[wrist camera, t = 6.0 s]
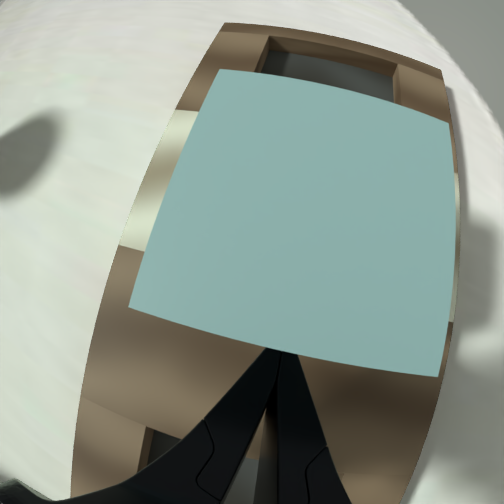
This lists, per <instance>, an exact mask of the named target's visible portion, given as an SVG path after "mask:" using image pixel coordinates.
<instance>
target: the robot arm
mask: <svg viewBox="0 0 504 504" xmlns="http://www.w3.org/2000/svg"><path fill="white" fill-rule="evenodd" d="M265 409H266V410H265ZM264 412H265V416H264V423H263V432H262V440H261V448H260V456H259V464H258V471H257V479H256V486H255V493H254V500H253V504H352V503H351V501H350V499H349V497H348V494H347V492H346V490H345V488H344V486H343V484H342V482H341V480H340V477H339V475H338V473H337V470H336V467H335V465H334V462H333V459H332V456H331V453H330V450H329V447H328V446H327V441H326V438H325V435H324V432H323V429H322V426H321V423H320V420H319V417H318V414H317V411H316V408H315V405H314V402H313V399H312V396H311V393H310V390H309V387H308V384H307V381H306V378H305V375H304V372H303V369H302V366H301V363H300V360H299V357H298V354H294V353H289V352H285V351H280V350H276V349H272V348H268V347H265V349H264V350H263V351H262V352H261V353H260V355H259V356H258V357H257V358H256V359H255V360H254V362H253V363H252V364H251V365H250V366H249V367H248V369H247V370H246V371H245V372H244V373H243V374H242V376H241V377H240V378H239V379H238V380H237V381H236V382H235V384H234V385H233V386H232V387H231V388H230V389H229V390H228V391H227V393H226V394H225V395H224V396H223V397H222V398H221V399H220V400H219V401H218V402H217V404H216V405H215V406H214V407H213V408H212V409H211V410H210V411H209V412H208V413H207V414H206V416H205V417H204V418H203V419H202V420H201V421H200V422H199V423H198V424H197V425H196V426H195V427H194V428H193V429H192V430H191V431H190V432H189V433H188V434H187V435H186V436H185V437H184V438H183V439H182V440H180V441H179V442H178V443H177V444H176V445H174V446H173V447H172V448H171V449H169V450H168V451H167V452H166V453H164V454H163V455H161V456H160V457H159V458H157V459H156V460H155V461H153V462H152V463H150V464H149V465H148V466H146V467H145V468H143V469H142V470H141V471H139V472H138V473H136V474H135V475H133V476H132V477H130V478H128V479H126V480H124V481H122V482H120V483H118V484H116V485H113V486H110V487H107V488H104V489H101V490H97V491H94V492H91V493H87V494H84V495H80V496H76V497H73V498H69V499H65V500H59V501H53V500H51V499H49V498H47V497H46V496H44V495H42V494H41V493H39V492H37V491H36V490H34V489H32V488H31V487H29V486H28V485H26V484H24V483H23V482H21V481H20V480H18V479H15V478H14V479H11V480H9V481H6V482H4V483H1V482H0V504H224V502H225V500H226V498H227V496H228V494H229V492H230V490H231V487H232V485H233V483H234V481H235V479H236V477H237V475H238V472H239V470H240V468H241V466H242V464H243V461H244V459H245V457H246V455H247V452H248V450H249V448H250V446H251V443H252V441H253V439H254V436H255V434H256V432H257V429H258V427H259V425H260V422H261V420H262V417H263V415H264Z"/></svg>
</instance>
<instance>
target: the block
mask: <svg viewBox="0 0 504 504" xmlns="http://www.w3.org/2000/svg"><path fill="white" fill-rule="evenodd" d="M455 238H456V205H455V181H454V167H453V155H452V146H451V138H450V130H449V123H447V122H444V121H442V120H439V119H437V118H434V117H432V116H429V115H426V114H424V113H421V112H418V111H415V110H413V109H410V108H407V107H404V106H401V105H398V104H395V103H392V102H388V101H385V100H382V99H379V98H375V97H372V96H368V95H365V94H361V93H357V92H354V91H350V90H346V89H342V88H338V87H333V86H329V85H324V84H320V83H315V82H310V81H305V80H300V79H294V78H288V77H282V76H276V75H269V74H262V73H254V72H246V71H236V70H226V69H219V71H218V73H217V75H216V77H215V79H214V81H213V83H212V85H211V87H210V89H209V91H208V94H207V96H206V98H205V100H204V102H203V104H202V106H201V108H200V111H199V113H198V115H197V117H196V119H195V122H194V124H193V126H192V128H191V131H190V133H189V135H188V138H187V140H186V142H185V145H184V147H183V149H182V152H181V154H180V157H179V159H178V162H177V164H176V167H175V169H174V172H173V174H172V177H171V179H170V182H169V184H168V187H167V190H166V192H165V195H164V198H163V200H162V203H161V206H160V209H159V211H158V214H157V217H156V220H155V223H154V226H153V228H152V231H151V234H150V237H149V240H148V243H147V246H146V249H145V253H144V256H143V259H142V262H141V265H140V268H139V272H138V275H137V278H136V282H135V285H134V289H133V292H132V295H131V299H130V303H129V306H128V307H130V308H133V309H135V310H138V311H141V312H144V313H147V314H150V315H154V316H157V317H160V318H163V319H166V320H169V321H172V322H176V323H179V324H182V325H186V326H189V327H192V328H196V329H199V330H203V331H206V332H210V333H213V334H217V335H221V336H224V337H228V338H232V339H236V340H239V341H243V342H247V343H251V344H255V345H259V346H263V347H268V348H272V349H276V350H280V351H285V352H289V353H294V354H298V355H303V356H308V357H313V358H318V359H323V360H328V361H333V362H338V363H344V364H349V365H355V366H361V367H367V368H373V369H380V370H386V371H393V372H400V373H408V374H416V375H424V376H433V377H438V374H439V370H440V365H441V361H442V356H443V351H444V345H445V340H446V334H447V327H448V321H449V314H450V306H451V297H452V288H453V276H454V262H455Z"/></svg>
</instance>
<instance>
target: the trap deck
mask: <svg viewBox="0 0 504 504" xmlns="http://www.w3.org/2000/svg"><path fill="white" fill-rule="evenodd" d="M219 69H226V70H236V71H246V72H254V73H262V74H269V75H276V76H282V77H288V78H294V79H300V80H305V81H310V82H315V83H320V84H324V85H329V86H333V87H338V88H342V89H346V90H350V91H354V92H357V93H361V94H365V95H368V96H372V97H375V98H379V99H382V100H385V101H388V102H392V103H395V104H398V105H401V106H404V107H407V108H410V109H413V110H415V111H418V112H421V113H424V114H426V115H429V116H432V117H434V118H437V119H439V120H442V121H444V122H447V123H449V130H450V138H451V146H452V155H453V167H454V181H455V205H456V238H455V262H454V276H453V288H452V297H451V306H450V314H449V321H448V327H447V334H446V340H445V345H444V351H443V356H442V361H441V365H440V370H439V374H438V377H433V376H424V375H416V374H408V373H400V372H393V371H386V370H380V369H373V368H367V367H361V366H355V365H349V364H344V363H338V362H333V361H328V360H323V359H318V358H313V357H308V356H303V355H298V357H299V360H300V363H301V366H302V369H303V372H304V375H305V378H306V381H307V384H308V387H309V390H310V393H311V396H312V399H313V402H314V405H315V408H316V411H317V414H318V417H319V420H320V423H321V426H322V429H323V432H324V435H325V438H326V441H327V446H328V447H329V450H330V453H331V456H332V459H333V462H334V465H335V467H336V470H337V473H338V475H339V477H340V480H341V482H342V484H343V486H344V488H345V490H346V492H347V494H348V497H349V499H350V501H351V503H352V504H399V503H400V501H401V499H402V497H403V495H404V493H405V490H406V488H407V486H408V484H409V481H410V479H411V476H412V474H413V472H414V469H415V467H416V464H417V462H418V459H419V456H420V454H421V451H422V448H423V445H424V442H425V440H426V437H427V434H428V431H429V427H430V424H431V421H432V418H433V414H434V411H435V407H436V404H437V400H438V396H439V392H440V389H441V384H442V380H443V376H444V371H445V367H446V362H447V357H448V352H449V346H450V341H451V335H452V328H453V321H454V314H455V306H456V297H457V287H458V274H459V256H460V198H459V180H458V168H457V157H456V149H455V141H454V133H453V127H452V120H451V114H450V109H449V103H448V98H447V94H446V89H445V84H444V80H443V76H442V72H441V70H440V69H438V68H435V67H433V66H430V65H428V64H425V63H422V62H420V61H417V60H414V59H412V58H409V57H406V56H403V55H400V54H397V53H394V52H391V51H388V50H385V49H381V48H378V47H375V46H371V45H367V44H364V43H360V42H356V41H352V40H348V39H344V38H339V37H335V36H330V35H325V34H320V33H315V32H309V31H304V30H297V29H291V28H283V27H275V26H266V25H256V24H243V23H224V25H223V26H222V28H221V29H220V31H219V32H218V34H217V36H216V37H215V39H214V40H213V42H212V44H211V45H210V47H209V49H208V50H207V52H206V54H205V55H204V57H203V59H202V61H201V62H200V64H199V66H198V68H197V69H196V71H195V73H194V75H193V76H192V78H191V80H190V82H189V84H188V86H187V87H186V89H185V91H184V93H183V95H182V97H181V99H180V101H179V103H178V105H177V107H176V109H175V111H174V113H173V115H172V117H171V119H170V121H169V123H168V125H167V127H166V129H165V131H164V133H163V135H162V137H161V140H160V142H159V144H158V146H157V148H156V151H155V153H154V155H153V157H152V160H151V162H150V164H149V166H148V169H147V171H146V174H145V176H144V178H143V181H142V183H141V186H140V188H139V191H138V193H137V196H136V198H135V201H134V203H133V206H132V209H131V211H130V214H129V217H128V219H127V222H126V225H125V228H124V230H123V233H122V236H121V239H120V242H119V245H118V248H117V251H116V254H115V257H114V260H113V263H112V266H111V270H110V273H109V276H108V280H107V283H106V286H105V290H104V293H103V297H102V301H101V304H100V308H99V312H98V316H97V319H96V323H95V328H94V332H93V336H92V340H91V345H90V349H89V354H88V358H87V363H86V368H85V373H84V379H83V384H82V390H81V396H80V402H79V409H78V416H77V423H76V431H75V440H74V449H73V461H72V475H71V498H73V497H76V496H80V495H84V494H87V493H91V492H94V491H97V490H101V489H104V488H107V487H110V486H113V485H116V484H118V483H120V482H122V481H124V480H126V479H128V478H130V477H132V476H133V475H135V474H136V473H138V472H139V471H141V470H142V469H143V468H145V467H146V466H148V465H149V464H150V463H152V462H153V461H155V460H156V459H157V458H159V457H160V456H161V455H163V454H164V453H166V452H167V451H168V450H169V449H171V448H172V447H173V446H174V445H176V444H177V443H178V442H179V441H180V440H182V439H183V438H184V437H185V436H186V435H187V434H188V433H189V432H190V431H191V430H192V429H193V428H194V427H195V426H196V425H197V424H198V423H199V422H200V421H201V420H202V419H203V418H204V417H205V416H206V414H207V413H208V412H209V411H210V410H211V409H212V408H213V407H214V406H215V405H216V404H217V402H218V401H219V400H220V399H221V398H222V397H223V396H224V395H225V394H226V393H227V391H228V390H229V389H230V388H231V387H232V386H233V385H234V384H235V382H236V381H237V380H238V379H239V378H240V377H241V376H242V374H243V373H244V372H245V371H246V370H247V369H248V367H249V366H250V365H251V364H252V363H253V362H254V360H255V359H256V358H257V357H258V356H259V355H260V353H261V352H262V351H263V350H264V349H265V347H263V346H259V345H255V344H251V343H247V342H243V341H239V340H236V339H232V338H228V337H224V336H221V335H217V334H213V333H210V332H206V331H203V330H199V329H196V328H192V327H189V326H186V325H182V324H179V323H176V322H172V321H169V320H166V319H163V318H160V317H157V316H154V315H150V314H147V313H144V312H141V311H138V310H135V309H133V308H130V307H128V306H129V303H130V299H131V295H132V292H133V289H134V285H135V282H136V278H137V275H138V272H139V268H140V265H141V262H142V259H143V256H144V253H145V249H146V246H147V243H148V240H149V237H150V234H151V231H152V228H153V226H154V223H155V220H156V217H157V214H158V211H159V209H160V206H161V203H162V200H163V198H164V195H165V192H166V190H167V187H168V184H169V182H170V179H171V177H172V174H173V172H174V169H175V167H176V164H177V162H178V159H179V157H180V154H181V152H182V149H183V147H184V145H185V142H186V140H187V138H188V135H189V133H190V131H191V128H192V126H193V124H194V122H195V119H196V117H197V115H198V113H199V111H200V108H201V106H202V104H203V102H204V100H205V98H206V96H207V94H208V91H209V89H210V87H211V85H212V83H213V81H214V79H215V77H216V75H217V73H218V71H219ZM265 410H266V409H265ZM264 416H265V412H264V415H263V417H262V420H261V422H260V425H259V427H258V429H257V432H256V434H255V436H254V439H253V441H252V443H251V446H250V448H249V450H248V452H247V455H246V457H245V459H244V461H243V464H242V466H241V468H240V470H239V472H238V475H237V477H236V479H235V481H234V483H233V485H232V487H231V490H230V492H229V494H228V496H227V498H226V500H225V502H224V504H253V500H254V493H255V486H256V479H257V471H258V464H259V456H260V448H261V440H262V432H263V423H264Z"/></svg>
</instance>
